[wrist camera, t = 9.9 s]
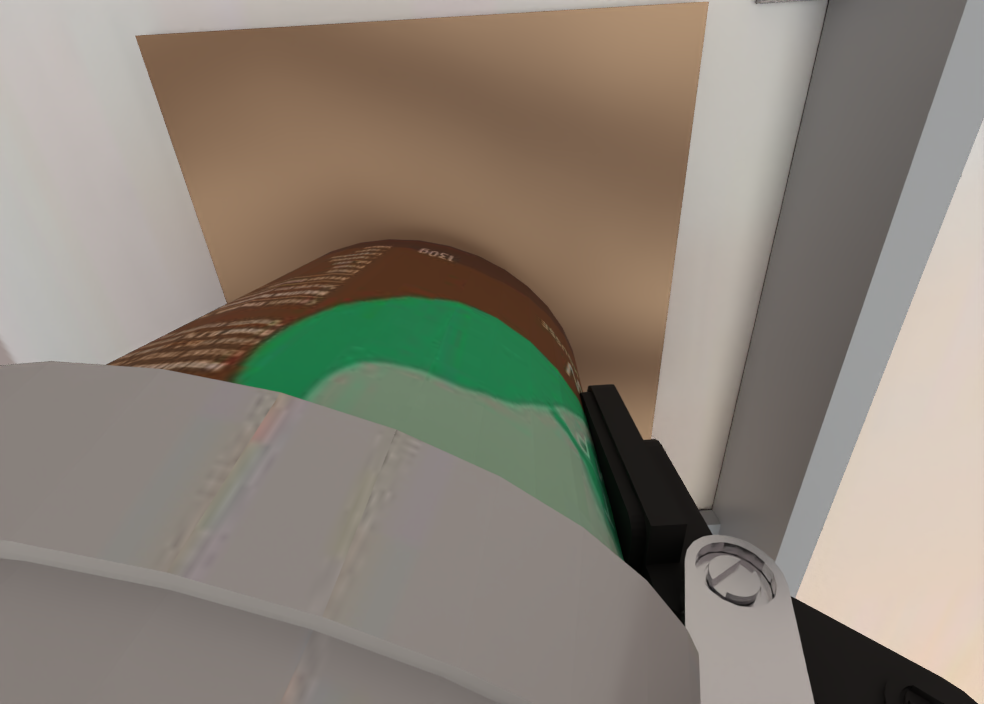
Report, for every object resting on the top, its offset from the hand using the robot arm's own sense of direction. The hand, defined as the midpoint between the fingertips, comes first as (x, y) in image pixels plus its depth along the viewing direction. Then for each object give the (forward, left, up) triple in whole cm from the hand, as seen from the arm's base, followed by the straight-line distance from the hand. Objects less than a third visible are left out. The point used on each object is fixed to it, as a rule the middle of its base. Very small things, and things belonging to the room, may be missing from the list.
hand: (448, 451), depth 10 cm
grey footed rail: (0, -11, -6) cm, 13 cm away
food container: (0, -2, -3) cm, 4 cm away
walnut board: (0, 0, -6) cm, 6 cm away
